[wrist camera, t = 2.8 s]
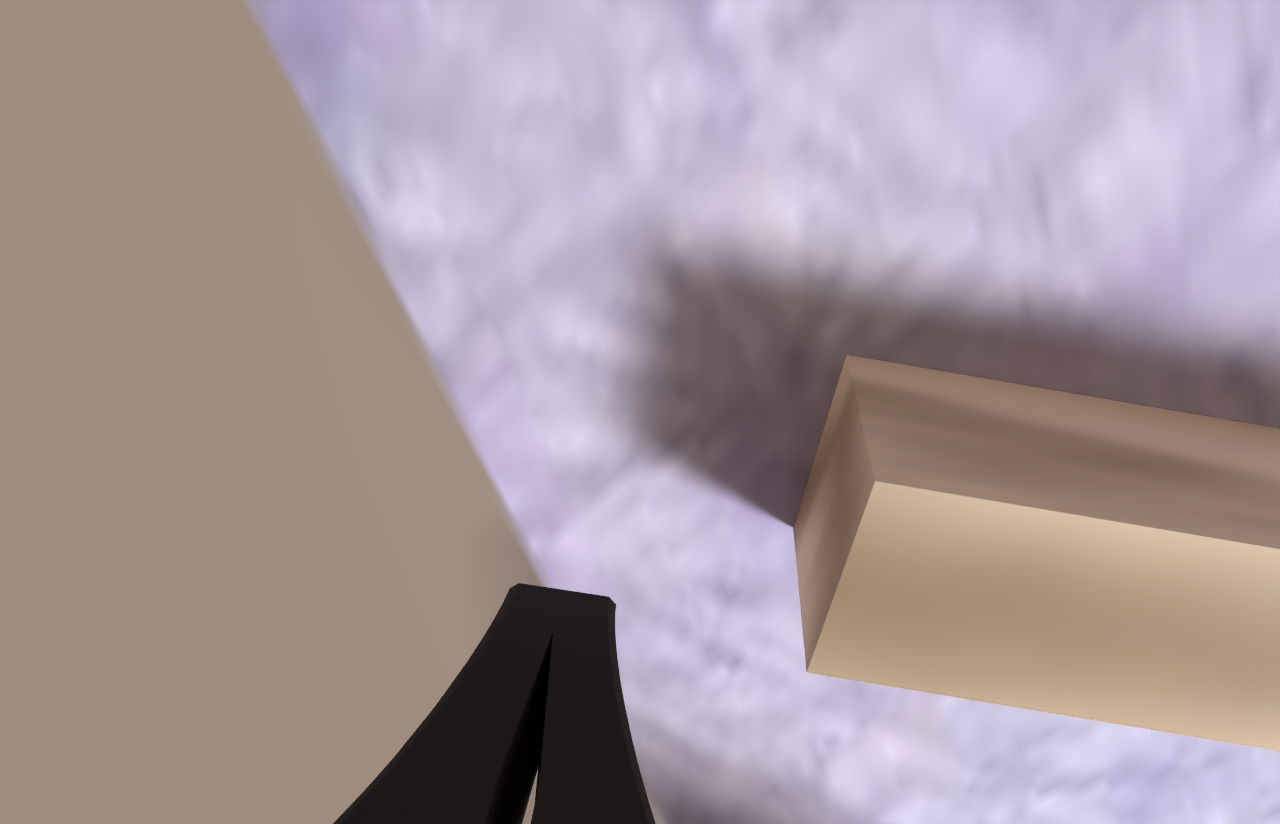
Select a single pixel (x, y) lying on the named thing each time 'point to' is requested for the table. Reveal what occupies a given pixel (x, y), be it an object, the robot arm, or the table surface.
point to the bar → (1045, 552)
